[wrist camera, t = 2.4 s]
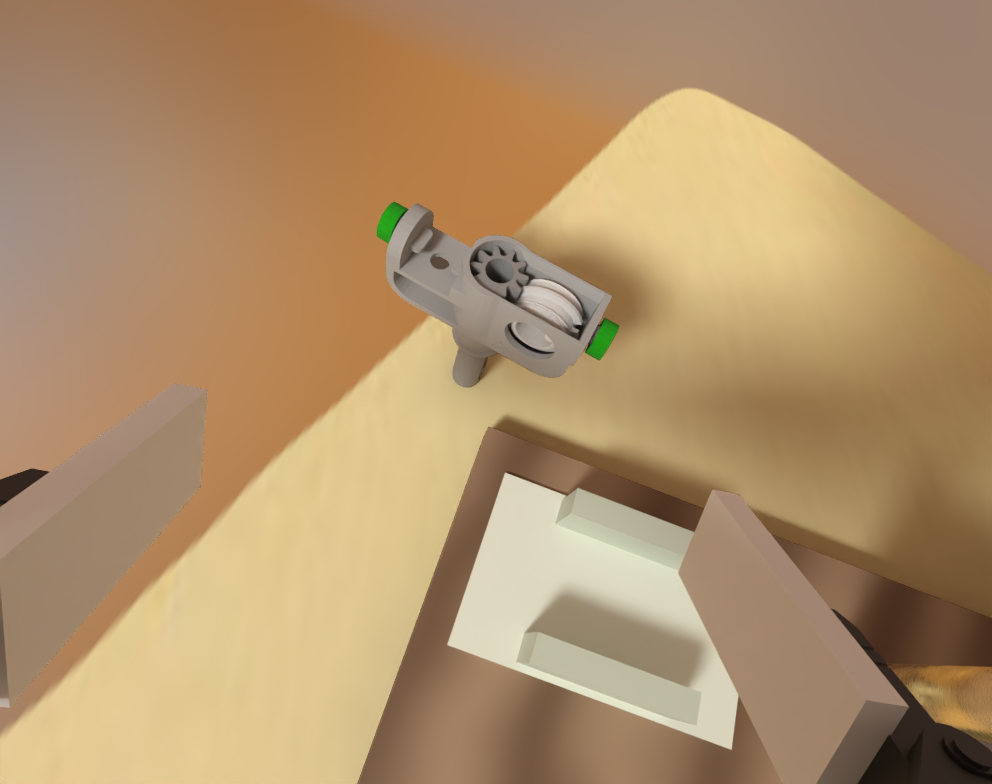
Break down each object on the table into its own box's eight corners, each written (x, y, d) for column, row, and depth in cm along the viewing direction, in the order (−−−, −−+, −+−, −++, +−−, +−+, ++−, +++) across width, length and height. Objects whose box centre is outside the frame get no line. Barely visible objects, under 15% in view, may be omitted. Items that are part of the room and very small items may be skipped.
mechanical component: (399, 308, 33) (407, 179, 24) (561, 399, 32) (632, 302, 23) (370, 348, 31) (366, 228, 22) (538, 443, 31) (603, 360, 22)
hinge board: (1007, 635, 31) (1359, 630, 20) (1030, 1027, 25) (1584, 1353, 13) (483, 436, 30) (545, 313, 19) (356, 785, 24) (334, 914, 12)
